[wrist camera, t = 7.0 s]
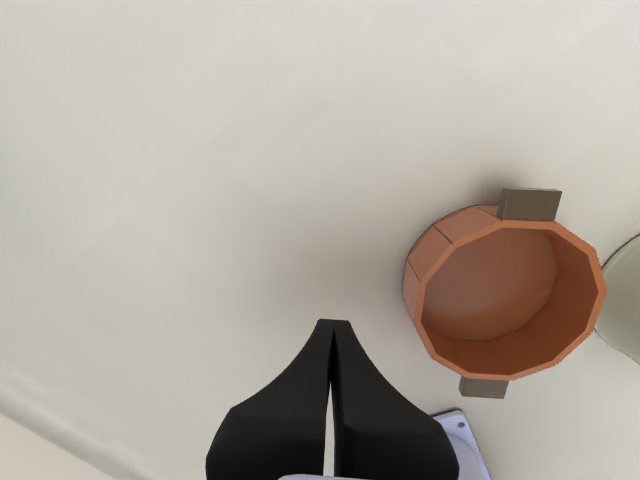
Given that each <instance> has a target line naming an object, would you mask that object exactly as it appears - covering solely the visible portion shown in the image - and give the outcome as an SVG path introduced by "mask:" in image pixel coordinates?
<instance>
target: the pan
mask: <svg viewBox="0 0 640 480" xmlns="http://www.w3.org/2000/svg"><path fill="white" fill-rule="evenodd" d="M561 194H562V191H559V190H555V189H535V188H510V187H503V188H502V192H501V196H500V201H499V205H495V204H494V205H478V206H472V207H468V208H465V209H461V210H459V211H456V212H454V213H451V214H449V215H447V216H446V217H444V218H442V219H440V220H439V221H438V222H436V223H435V224H433V225H432V226H431V227H430V228H429V229H428V230H426V231H425V232H424V233H423V235H422V236H421V237H420V238H419V239H418V240H417V242H416V243H415V245H414V246H413V248H412V250H411V252H410V254H409V256H408V258H407V261H406V264H405V267H404V272H403V294H402V295H403V299H404V302H405V304H406V307H407V309H408V312H409V314H410V317H411V319H412V322H413V324H414V326H415V328H416V330H417V332H418V334H419V336H420V338H421V340H422V342H423V344H424V346H425V348H426V350H427V352H428V354H429V356H430V357H431V358H432V359H434V360H436V361H437V362H439V363H441V364H442V365H444V366H446V367H448V368H449V369H451V370H453V371H455V372H456V373H458V374H460V375H462V376H461V380H460V385H459V391H460V393H461V395H462V396H466V397H481V398H497V399H504V396H505V393H506V389H507V385H508V382H509V381H510V380H515V379H518V378H521V377H524V376H527V375H530V374H533V373H535V372H538V371H541V370H544V369H547V368H550V367H553V366H555V364H558V363H559V362H560V361H562V360H563V359H564V358H565V357H566V356H567V355H568V354H569V353H570V352H572V351H573V350H574V349H575V348H576V347H577V346H578V345H579V344H580V343H582V342H583V341H584V340H585V339H586V338H587V337H588V336H589V335H590V334H591V333H590V332H593V329H594V326H595V323H596V321H597V318H598V315H599V312H600V310H601V307H602V304H603V301H604V299H605V296H606V293H607V291H606V290H607V288H606V284H605V281H604V277H603V274H602V270H601V267H600V264H599V260H598V257H597V253H596V250H595V249H594V248H593V247H592V246H590V245H589V244H587V243H586V242H585V241H583V240H582V239H580V238H579V237H577V236H576V235H574V234H573V233H572V232H570V231H569V230H567V229H566V228H564V227H563V226H561V225H560V224H559V223H557V222H555V221H554V219H555V216H556V212H557V208H558V205H559V201H560V198H561Z"/></svg>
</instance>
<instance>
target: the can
mask: <svg viewBox="0 0 640 480" xmlns="http://www.w3.org/2000/svg"><path fill="white" fill-rule="evenodd" d="M602 274H603V277H604V281H605V284H606V288H607V290H606V291H607V293H606V296H605V299H604V301H603V304H602V307H601V310H600V312H599V315H598V318H597V321H596V323H595V326H594V328H595V330H596V332H597V333H598V334H599V336H600V337H601V338H602V339H603V340H604V341H605V342H606V343H607V344H609V345H610V346H611V347H613V348H614V349H616V350H618V351H620V352H622V353H624V354H625V355H627V356H628V357H629V358H631V359H632V360H634V361H635V362H636V363H638V364H639V365H640V235H639V236H637V237H636V238H634V239H633V240H631V241H630V242H628V243H627V244H626V245H625V246H623V247H622V248H621V249H620V250H619V251H618V252H617V253H615V254H614V255H613V257H612V258H611V259H610V260H609V261H608V262H607V263H606V265H605V266H604V267H603V269H602Z"/></svg>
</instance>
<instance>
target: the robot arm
mask: <svg viewBox="0 0 640 480" xmlns="http://www.w3.org/2000/svg"><path fill="white" fill-rule="evenodd" d="M330 383H331V391H332V405H333V419H334V438H335V446H334V477H330V476H323V467H324V451H325V431H326V412H327V405H328V397H329V390H330ZM460 422H461V423H460ZM205 468H206V477H207V480H491V478H490V475H489V473H488V471H487V468H486V466H485V463H484V461H483V458H482V456H481V453H480V451H479V449H478V446H477V444H476V441H475V439H474V436H473V434H472V432H471V429H470V427H469V424H468V422H467V419H466V417H465V415H464V413H463V412H462V411H458V410H457V411H452V412H449V413H446V414H442V415H439V416H435V417H430V416H429V415H427V414H426V413H424V412H423V411H421V410H420V409H419V408H417V407H416V406H415V405H413V404H412V403H411V402H410V401H408V400H407V399H406V398H405V397H404V396H402V395H401V394H400V393H399V392H398V391H397V390H396V389H395V388H394V387H393V386H392V385H391V384H390V383H389V382H388V381H387V380H386V379H385V378H384V377H383V375H382V374H381V373H380V372H379V371H378V369H377V368H376V367H375V366H374V364H373V363H372V361H371V360H370V359H369V357H368V356H367V354H366V353H365V351H364V349H363V348H362V346H361V344H360V343H359V341H358V339H357V337H356V335H355V333H354V331H353V329H352V326H351V323H350V322H349V321H345V320H330V319H319V320H318V321H317V324H316V326H315V329H314V331H313V332H312V334H311V336H310V338H309V339H308V341H307V342H306V344H305V345H304V347H303V348H302V350H301V351H300V352H299V354H298V355H297V356H296V358H295V359H294V360H293V361H292V362H291V363H290V365H289V366H288V367H287V368H286V369H285V370H284V371H283V372H282V373H281V374H280V375H279V376H277V377H276V378H275V379H274V380H273V381H272V382H271V383H270V384H268V385H267V386H266V387H264V388H263V389H262V390H260V391H259V392H258V393H256V394H255V395H253V396H252V397H250V398H248V399H247V400H245V401H243V402H241V403H240V404H238V405H236V406H234V407H232V408H231V409H230V410H229V412H228V413H227V415H226V417H225V418H224V420H223V422H222V423H221V425H220V427H219V429H218V431H217V433H216V435H215V437H214V439H213V442H212V444H211V447H210V449H209V452H208V454H207V457H206V466H205Z"/></svg>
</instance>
